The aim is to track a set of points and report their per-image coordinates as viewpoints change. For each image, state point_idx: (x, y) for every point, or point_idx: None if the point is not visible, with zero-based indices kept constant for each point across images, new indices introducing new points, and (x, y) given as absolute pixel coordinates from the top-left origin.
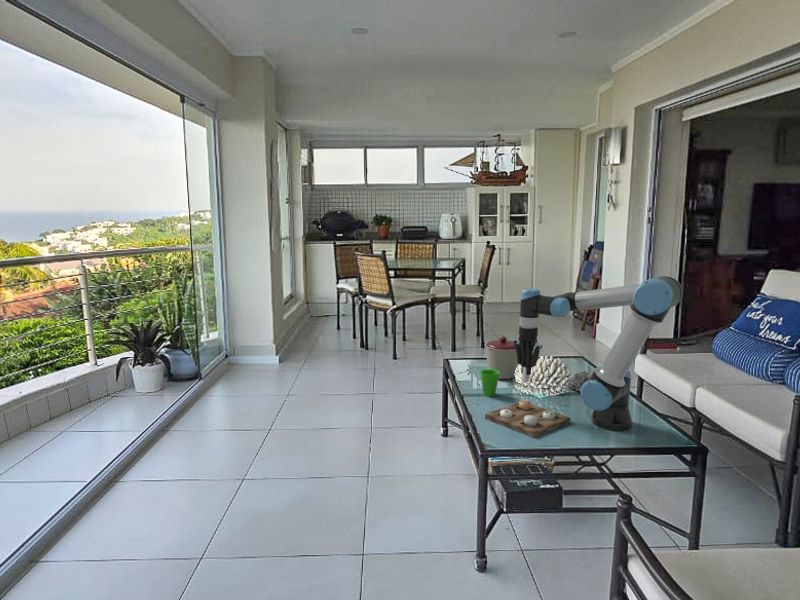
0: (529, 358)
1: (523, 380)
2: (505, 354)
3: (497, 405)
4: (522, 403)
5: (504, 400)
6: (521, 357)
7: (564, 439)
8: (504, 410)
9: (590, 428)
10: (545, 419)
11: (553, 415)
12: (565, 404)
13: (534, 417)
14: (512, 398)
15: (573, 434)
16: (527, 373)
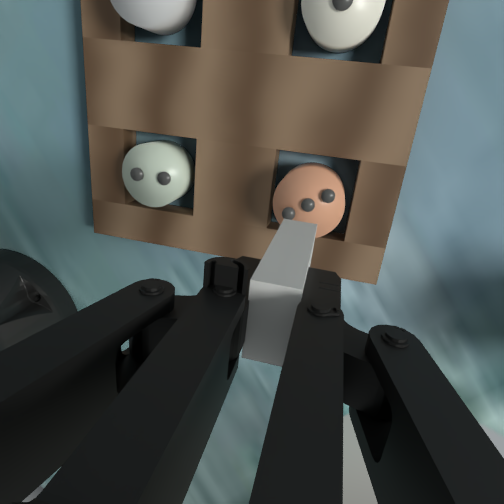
0: (140, 381)
1: (301, 227)
2: None
3: (498, 184)
4: (308, 172)
5: (495, 282)
6: (341, 401)
7: (5, 18)
8: (363, 9)
9: (27, 219)
10: (146, 123)
11: (122, 166)
12: (228, 394)
13: (127, 2)
14: (467, 334)
15: (22, 107)
16: (250, 264)
